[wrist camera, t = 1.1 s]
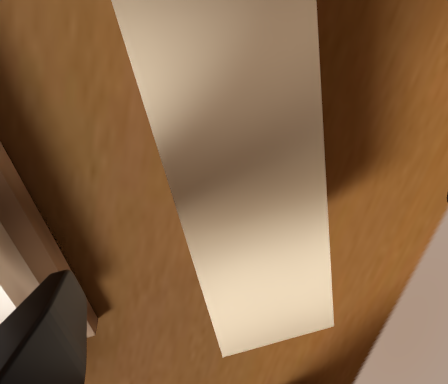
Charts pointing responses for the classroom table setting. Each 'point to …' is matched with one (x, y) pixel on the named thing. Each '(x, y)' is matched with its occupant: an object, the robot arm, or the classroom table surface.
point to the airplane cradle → (25, 245)
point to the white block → (241, 155)
